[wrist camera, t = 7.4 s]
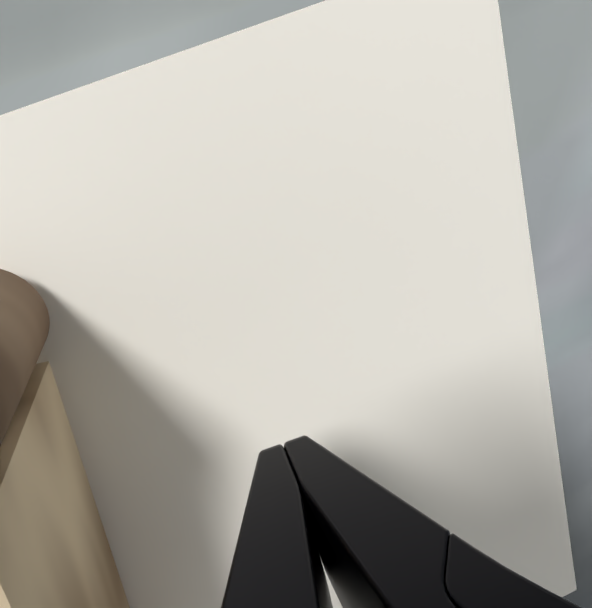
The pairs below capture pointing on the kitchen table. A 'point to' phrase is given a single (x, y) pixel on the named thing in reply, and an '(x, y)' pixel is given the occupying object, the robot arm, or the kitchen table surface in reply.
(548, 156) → the kitchen table surface
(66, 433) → the fence gate
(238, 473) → the card
